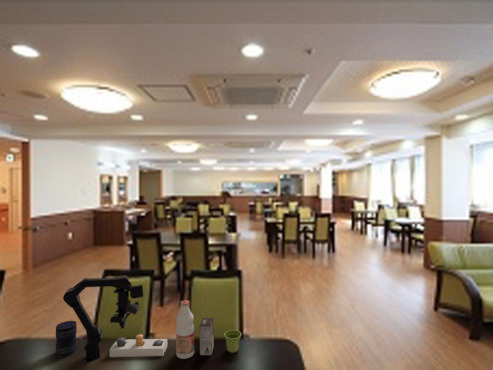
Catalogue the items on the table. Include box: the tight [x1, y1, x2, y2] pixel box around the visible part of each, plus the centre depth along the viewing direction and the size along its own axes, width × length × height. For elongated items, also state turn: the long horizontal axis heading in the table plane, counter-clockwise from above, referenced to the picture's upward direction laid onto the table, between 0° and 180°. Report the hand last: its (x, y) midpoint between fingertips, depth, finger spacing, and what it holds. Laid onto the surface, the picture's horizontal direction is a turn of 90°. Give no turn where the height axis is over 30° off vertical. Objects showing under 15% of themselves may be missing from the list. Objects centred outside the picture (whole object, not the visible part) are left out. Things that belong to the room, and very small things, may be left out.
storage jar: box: [55, 320, 78, 358], centre depth 163 cm, size 10×10×15 cm
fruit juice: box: [175, 299, 195, 360], centre depth 160 cm, size 9×9×28 cm
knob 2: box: [154, 340, 162, 346], centre depth 163 cm, size 4×4×3 cm
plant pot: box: [224, 329, 242, 353], centre depth 164 cm, size 9×9×9 cm
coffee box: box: [199, 317, 215, 356], centre depth 163 cm, size 9×6×16 cm
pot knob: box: [135, 334, 144, 346], centre depth 163 cm, size 4×4×5 cm
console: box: [109, 338, 168, 358], centre depth 163 cm, size 28×10×4 cm, turn 92°
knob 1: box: [115, 336, 126, 347], centre depth 163 cm, size 4×4×3 cm
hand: (122, 328), depth 163 cm, fingers closed
